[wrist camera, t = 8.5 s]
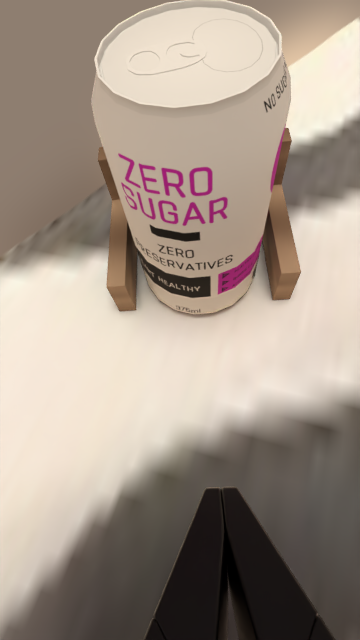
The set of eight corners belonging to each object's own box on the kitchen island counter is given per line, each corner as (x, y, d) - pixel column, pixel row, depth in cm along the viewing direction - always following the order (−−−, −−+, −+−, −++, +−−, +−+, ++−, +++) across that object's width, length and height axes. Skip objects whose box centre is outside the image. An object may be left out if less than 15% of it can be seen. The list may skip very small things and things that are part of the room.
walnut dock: (289, 299, 24) (316, 236, 18) (119, 311, 25) (88, 254, 19) (271, 206, 28) (288, 128, 22) (123, 219, 29) (99, 147, 23)
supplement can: (235, 218, 28) (256, -25, 15) (268, 303, 24) (338, 86, 11) (139, 241, 28) (70, 16, 14) (159, 330, 24) (92, 144, 11)
